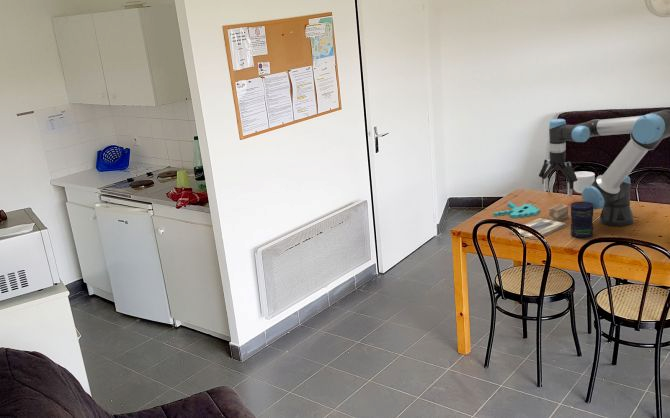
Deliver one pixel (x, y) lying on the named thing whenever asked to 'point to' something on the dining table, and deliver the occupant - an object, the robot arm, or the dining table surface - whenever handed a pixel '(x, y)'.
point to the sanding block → (558, 213)
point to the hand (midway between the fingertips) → (557, 192)
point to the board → (541, 227)
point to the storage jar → (582, 220)
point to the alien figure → (519, 211)
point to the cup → (583, 181)
